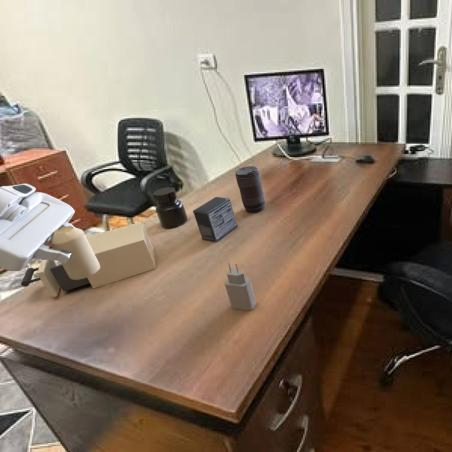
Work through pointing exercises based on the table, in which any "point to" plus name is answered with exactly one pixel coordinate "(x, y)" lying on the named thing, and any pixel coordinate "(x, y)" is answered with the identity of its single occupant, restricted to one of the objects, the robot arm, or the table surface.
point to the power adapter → (239, 290)
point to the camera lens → (250, 188)
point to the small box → (215, 219)
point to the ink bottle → (169, 208)
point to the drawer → (52, 277)
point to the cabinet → (121, 254)
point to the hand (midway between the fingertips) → (77, 249)
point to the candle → (75, 252)
